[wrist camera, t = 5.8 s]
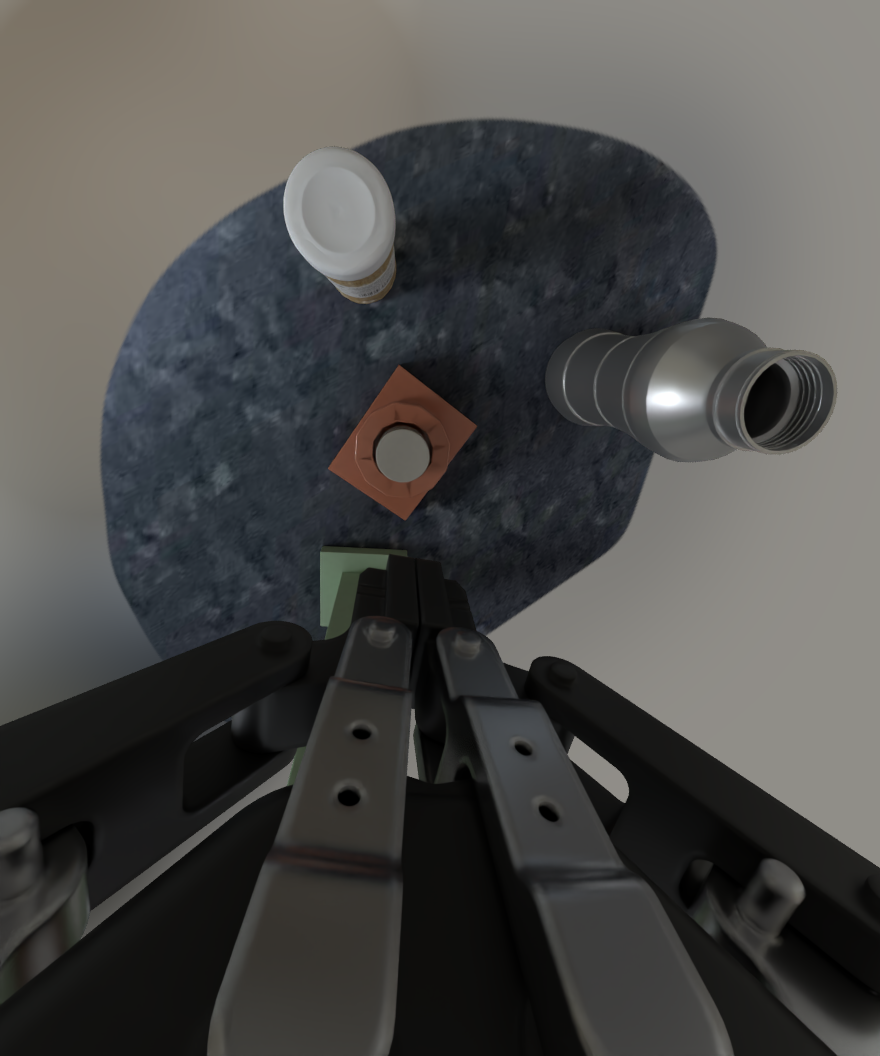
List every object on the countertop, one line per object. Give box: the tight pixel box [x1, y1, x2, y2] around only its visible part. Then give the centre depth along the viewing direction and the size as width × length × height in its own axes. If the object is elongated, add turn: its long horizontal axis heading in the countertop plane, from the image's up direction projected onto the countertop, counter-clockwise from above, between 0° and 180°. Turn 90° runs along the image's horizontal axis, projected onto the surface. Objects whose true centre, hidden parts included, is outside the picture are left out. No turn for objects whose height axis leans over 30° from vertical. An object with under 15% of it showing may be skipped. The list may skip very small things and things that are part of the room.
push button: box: [376, 426, 430, 482], centre depth 31 cm, size 4×4×2 cm
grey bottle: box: [545, 318, 837, 462], centre depth 26 cm, size 6×7×20 cm
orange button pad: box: [328, 365, 477, 520], centre depth 34 cm, size 9×7×4 cm
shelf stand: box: [287, 546, 407, 786], centre depth 26 cm, size 11×7×30 cm, turn 85°
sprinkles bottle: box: [284, 147, 396, 304], centre depth 25 cm, size 5×5×13 cm
